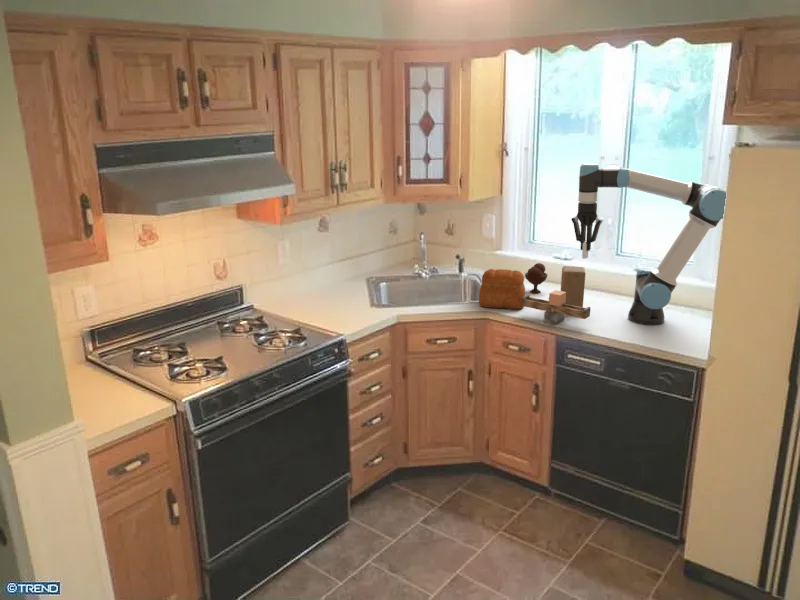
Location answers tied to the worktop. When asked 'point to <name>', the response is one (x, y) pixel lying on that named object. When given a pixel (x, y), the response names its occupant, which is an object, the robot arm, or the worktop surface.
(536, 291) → the ice cream bowl
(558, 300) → the block
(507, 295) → the bread
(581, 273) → the wooden block
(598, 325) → the worktop surface
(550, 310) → the beam
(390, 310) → the worktop surface
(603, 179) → the robot arm
